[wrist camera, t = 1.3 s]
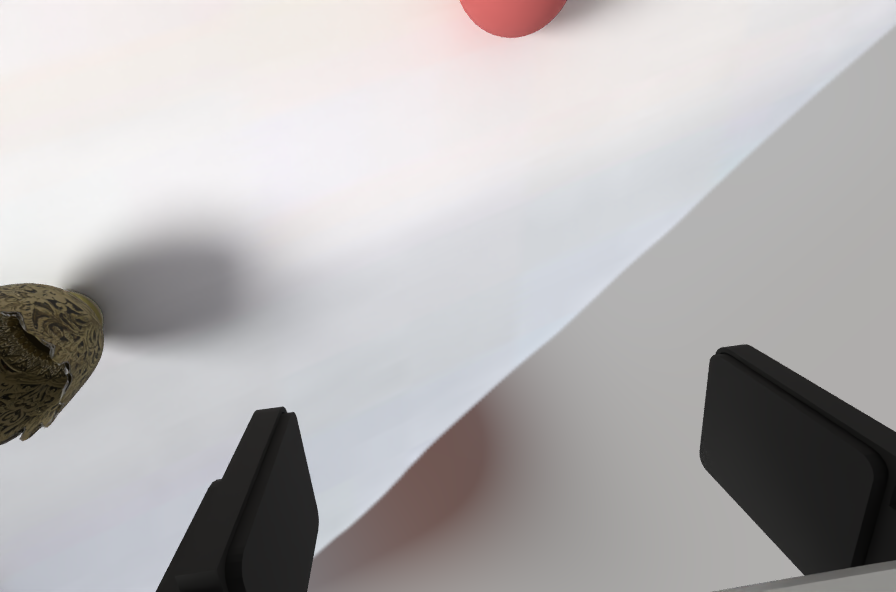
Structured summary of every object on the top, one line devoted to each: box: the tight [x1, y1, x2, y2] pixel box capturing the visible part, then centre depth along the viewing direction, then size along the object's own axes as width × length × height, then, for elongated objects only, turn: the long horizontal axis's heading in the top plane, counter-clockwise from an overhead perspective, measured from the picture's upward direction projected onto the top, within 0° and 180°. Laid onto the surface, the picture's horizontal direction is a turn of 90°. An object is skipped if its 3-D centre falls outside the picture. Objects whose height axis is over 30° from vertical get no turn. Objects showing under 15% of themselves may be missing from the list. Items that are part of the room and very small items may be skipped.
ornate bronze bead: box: [0, 283, 104, 445], centre depth 26 cm, size 8×7×8 cm
